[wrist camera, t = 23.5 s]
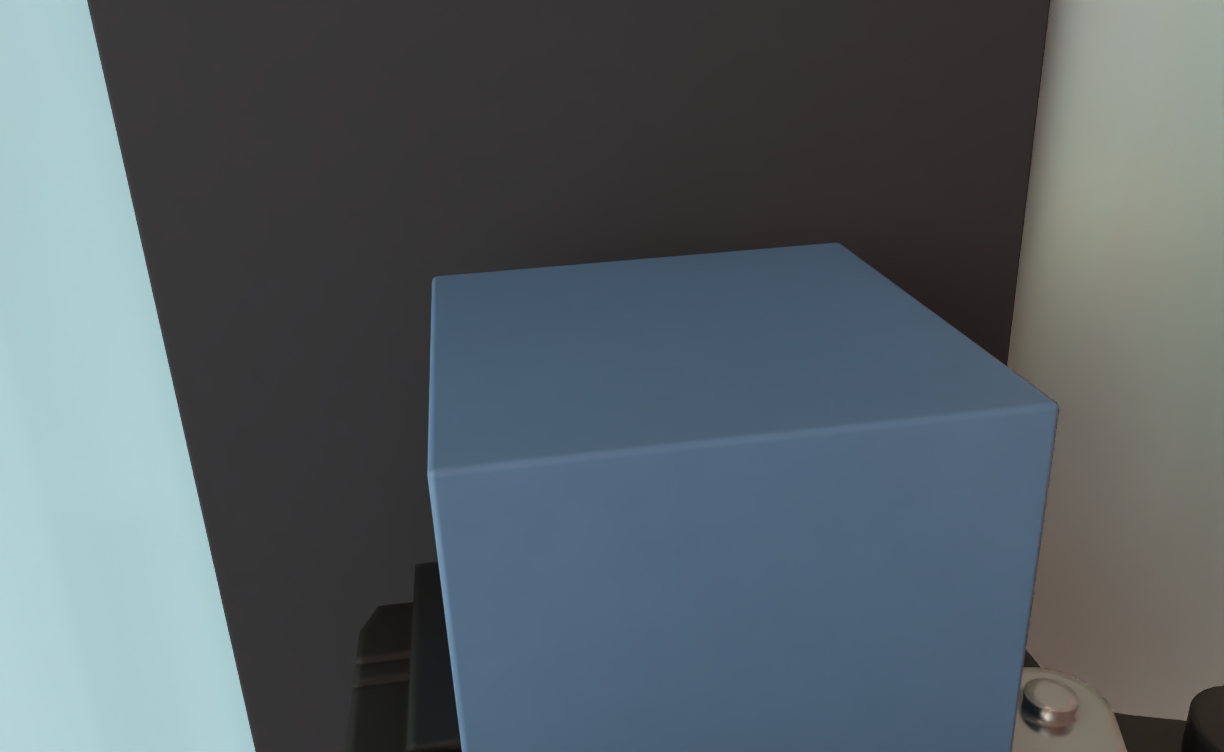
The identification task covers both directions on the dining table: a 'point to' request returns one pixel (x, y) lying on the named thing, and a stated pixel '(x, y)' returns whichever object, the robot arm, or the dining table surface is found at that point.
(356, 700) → the robot arm
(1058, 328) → the dining table surface
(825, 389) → the blue block
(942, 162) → the mat
